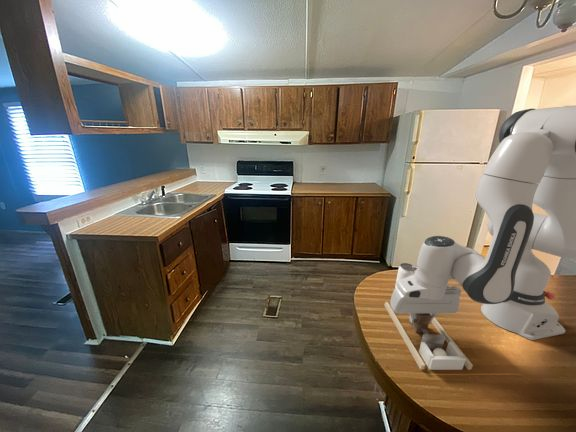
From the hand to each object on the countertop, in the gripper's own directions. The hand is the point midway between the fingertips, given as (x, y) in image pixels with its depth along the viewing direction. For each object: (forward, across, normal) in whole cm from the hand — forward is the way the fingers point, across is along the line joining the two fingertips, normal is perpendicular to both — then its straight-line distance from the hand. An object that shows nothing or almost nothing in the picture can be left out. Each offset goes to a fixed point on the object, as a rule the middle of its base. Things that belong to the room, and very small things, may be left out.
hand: (419, 321), depth 75 cm
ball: (+1, 0, +11) cm, 11 cm away
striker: (+3, 0, +3) cm, 4 cm away
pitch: (+4, 0, +2) cm, 5 cm away
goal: (+3, 0, +12) cm, 12 cm away
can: (+4, -5, -21) cm, 22 cm away
